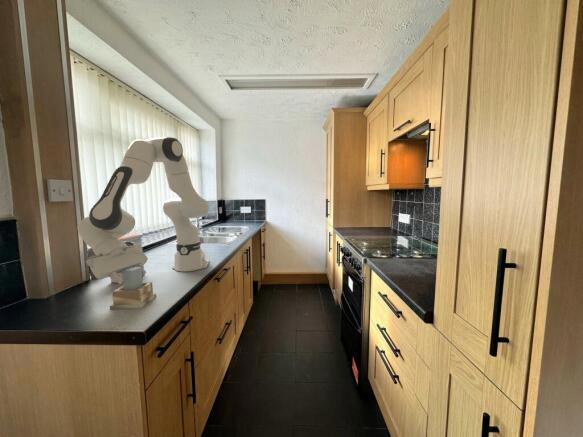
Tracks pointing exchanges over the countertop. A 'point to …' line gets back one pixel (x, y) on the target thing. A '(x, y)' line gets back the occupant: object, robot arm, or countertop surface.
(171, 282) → the countertop surface
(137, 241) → the cracker box
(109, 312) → the countertop surface
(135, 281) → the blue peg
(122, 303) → the cup collar
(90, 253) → the beverage cup
